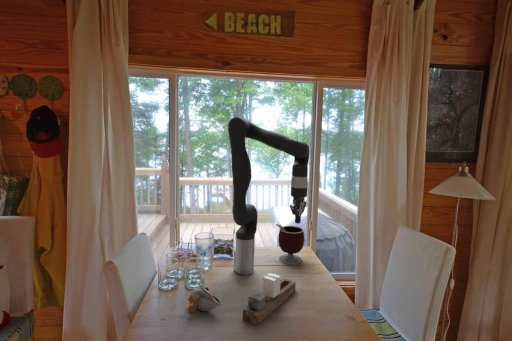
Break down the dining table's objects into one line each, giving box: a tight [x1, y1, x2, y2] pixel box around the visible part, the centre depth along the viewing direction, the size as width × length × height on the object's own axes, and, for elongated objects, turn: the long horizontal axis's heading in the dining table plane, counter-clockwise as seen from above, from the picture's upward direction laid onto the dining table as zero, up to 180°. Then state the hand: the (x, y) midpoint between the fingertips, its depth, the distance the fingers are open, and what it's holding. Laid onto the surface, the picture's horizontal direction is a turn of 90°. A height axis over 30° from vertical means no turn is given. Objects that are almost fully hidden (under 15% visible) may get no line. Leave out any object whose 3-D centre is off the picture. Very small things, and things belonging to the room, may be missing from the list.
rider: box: [262, 272, 281, 301], centre depth 116 cm, size 5×5×9 cm
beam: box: [242, 277, 297, 326], centre depth 117 cm, size 6×30×8 cm, turn 146°
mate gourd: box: [275, 223, 305, 265], centre depth 160 cm, size 16×14×20 cm
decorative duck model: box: [187, 286, 222, 314], centre depth 114 cm, size 15×8×15 cm
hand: (297, 223), depth 136 cm, fingers closed
